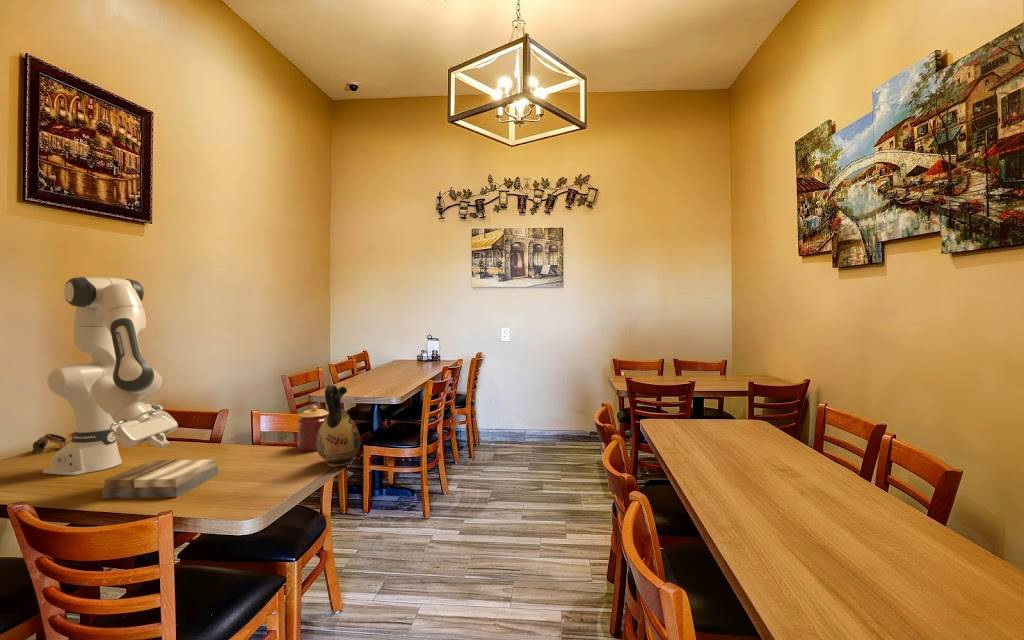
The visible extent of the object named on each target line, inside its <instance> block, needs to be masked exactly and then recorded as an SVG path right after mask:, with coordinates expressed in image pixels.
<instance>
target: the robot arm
mask: <svg viewBox="0 0 1024 640" xmlns="http://www.w3.org/2000/svg"><path fill="white" fill-rule="evenodd" d="M63 295H64V299H65V301H66V302H67V304H69V305H70V306H73V307H76V309H75V313H74V320H73V321H74V322H73V323H74V324H73V332H74V333H73V339H74V340H73V343H74V344H73V345H74V346H75V348H76V349H77V350H79V351H80V352H82V353H85V354H88V355H90V356H91V359H92V362H88V363H87V362H86V363H78V364H70V365H64V366H61V367H60V366H59V367H56V368H54V369H52V370H51V372H50V374H48V377H47V386H48V389H49V390H50V391H51V392H52V393H53V394H56V395H57V396H59V397H62V398H63V399H65V400H66V402H67V403H69V405H70V406H71V408H72V410H73V411H72V412H73V415H74V423H75V431H74V432H72V433H68V434H67V435H68V438H71V440H70V442H69V443H67V444H66V445H65V447H63V448H62V449H61V450H59V449H58V451H57V452H55V453H54V454H53V456H52V460H51V465H50V466H48V467H45V468H44V469H43V470H42V474H51V475H64V476H77V475H82V474H86V473H93V472H98V471H103V470H106V469H107V470H108V469H110V468H114V467H116V466H119V465H121V464H122V463H123V460H122V458H121V455H120V451H119V446H118V443H119V444H120V445H121V446H122V447H124V448H127V449H129V448H132V447H135V446H137V445H140V444H143V443H146V442H147V443H148V445H152V446H154V447H156V448H157V449H158V450H160V449H161V450H162V449H163V448H166V447H168V445H170V442H169V441H168V440H167V438H166V435H168V434H172V433H173V432H174V431H175V430H176V429H177V428H178V426H179V425H178V422H177V421H176V420H175V419H174V417H172V415H170V414H169V413H168V412H166V411H164V407H163V406H161V405H159V404H149V403H144V402H143V400H146V399H147V398H149V397H151V396H153V395H155V394H156V393H158V392H159V391H160V390H161V389H162V387H163V384H164V379H163V377H162V375H161V374H160V373H159V372H158V371H157V370H156V369H154V368H153V367H152V366H151V365H150V364H149V363H148V361H146V360H145V359H144V358H143V355H142V354H141V352H142V351H141V348H140V345H139V344H140V343H139V339H138V336H139V335H140V334H142V333H143V332H144V331H145V330H146V328H147V316H146V312H145V311H146V310H145V309H144V306H143V303H142V301H143V300H144V296H145V292H144V288H143V286H142V284H141V283H140V282H139V281H138V280H136V279H135V280H134V279H130V278H126V279H124V278H119V277H118V278H117V277H108V276H105V277H84V276H79V277H78V276H77V277H73V278H70V279H68V280H67V282H66V283H65V285H64V289H63Z"/></svg>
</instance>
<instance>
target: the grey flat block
mask: <svg viewBox="0 0 1024 640" xmlns="http://www.w3.org/2000/svg"><path fill="white" fill-rule="evenodd" d="M177 460H178V458H177V459H156V460H155V459H153V460H150V461H147V462H144V463H143V464H141V465H137V466H135V467H133V468H131V469H128V470H125V471H124V472H120V473H118V474H115V475H114V476H112V477H109V478H106V479H104V487H103V488H101V499H150V498H151V499H153V498H155V499H156V498H157V499H159V498H160V499H161V498H162V499H163V498H164V499H165V498H167V497H175V498H179V497H180V496H182V495H184V494H186V493H188V492H189V491H191V490H192V488H193V489H195V488H196V487H198V486H200V485H201V483H202V484H204V483H206V482H207V481H209V480H211V479H213V478H215V477H216V476H218V475H219V466H218V465H215V467H213V468H211V469H210V470H208V471H206V472H204V473H202V474H200V475H198V476H196V477H194V478H192V479H190V480H189V481H187V482H185V483H183V484H181V485H179V486H177V487H149V488H134V479H137V478H139V477H141V476H143V475H146V474H148V473H150V472H152V471H155V470H157V469H159V468H161V467H164V466H166V465H168V464H170V463H173V462H175V461H177ZM217 474H218V475H217ZM215 475H216V476H215ZM212 477H213V478H212ZM210 478H211V479H210ZM208 479H209V480H208ZM203 482H204V483H203ZM194 487H195V488H194ZM185 492H186V493H185Z"/></svg>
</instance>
